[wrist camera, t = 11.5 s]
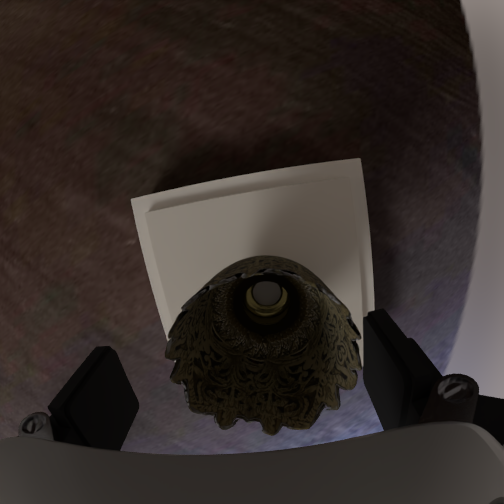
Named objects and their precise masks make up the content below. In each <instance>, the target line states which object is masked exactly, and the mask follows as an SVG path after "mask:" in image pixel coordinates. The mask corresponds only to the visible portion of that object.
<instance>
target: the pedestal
mask: <svg viewBox="0 0 504 504" xmlns="http://www.w3.org/2000/svg"><path fill="white" fill-rule="evenodd" d="M131 203H132V208H133V212H134V217H135V222H136V226H137V231H138V235H139V239H140V244H141V248H142V252H143V256H144V260H145V264H146V268H147V271H148V275H149V279H150V283H151V286H152V290H153V293H154V297H155V301H156V304H157V307H158V311H159V314H160V317H161V321H162V324H163V327H164V330H165V334H166V337H167V340H168V341H169V340H170V339H171V338H170V339H168V333H169V331H170V329H171V327H172V325H173V324H174V322H175V320H176V318H177V316H178V315H179V314H180V313H181V312H182V309H181V307H182V306H183V305H184V304H185V303H186V302H187V301H188V300H189V299H190V298H191V297H192V296H193V295H195V294H196V293H197V292H198V291H199V290H200V289H201V288H202V287H203V286H204V285H205V284H206V283H207V282H208V281H210V280H211V279H212V278H213V277H214V276H215V275H216V274H217V273H219V272H220V271H221V270H223V269H224V268H226V267H227V266H229V265H231V264H233V263H235V262H237V261H239V260H242V259H245V258H248V257H253V256H261V255H271V256H279V257H284V258H287V259H290V260H293V261H295V262H297V263H299V264H301V265H303V266H304V267H306V268H307V269H309V270H310V271H312V272H313V273H314V274H315V275H316V276H317V277H319V278H320V279H321V280H322V281H323V282H324V284H325V285H326V286H327V287H328V288H329V289H330V290H331V291H332V292H333V293H334V295H335V296H336V297H337V298H338V299H339V300H340V301H341V302H342V303H343V304H344V305H345V306H346V307H347V308H348V309H349V311H350V313H351V318H352V320H353V322H354V324H355V325H356V326H357V328H358V330H359V332H360V334H361V340H356V342H357V344H358V345H359V354H360V358H361V363H362V366H363V317H365V316H367V314H368V312H369V311H374V310H375V308H374V283H373V265H372V251H371V239H370V229H369V219H368V210H367V202H366V194H365V186H364V179H363V172H362V166H361V159H360V158H356V159H347V160H338V161H330V162H323V163H315V164H308V165H301V166H295V167H288V168H282V169H275V170H269V171H263V172H257V173H252V174H246V175H240V176H235V177H230V178H224V179H219V180H214V181H209V182H204V183H199V184H195V185H190V186H185V187H181V188H176V189H172V190H167V191H163V192H159V193H154V194H150V195H146V196H142V197H138V198H134V199H131ZM280 295H281V290H280V287H279V286H278V284H277V283H274V282H267V281H266V282H259V283H257V284H256V285H255V287H254V289H253V296H254V298H255V300H256V301H257V302H258V303H260V304H262V305H272V304H274V303H276V302H277V301H278V300H279V298H280ZM175 362H176V361H175Z"/></svg>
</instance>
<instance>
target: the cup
mask: <svg viewBox="0 0 504 504" xmlns="http://www.w3.org/2000/svg"><path fill="white" fill-rule="evenodd" d="M266 281H267V282H274V283H277V284H278V286H279V287H280V290H281V295H280V298H279V300H278V301H277V302H276V303H274V304H272V305H262V304H260V303H258V302H257V301H256V300H255V298H254V296H253V289H254V287H255V285H256V284H257V283H259V282H266ZM181 309H182V312H181V313H180V314H179V315H178V316H177V318H176V320H175V322H174V324H173V325H172V327H171V329H170V331H169V333H168V339H170V338H171V339H170V340H169V341H168V343H167V347H166V351H165V358H166V359H169V360H173V361H176V362H175V366H174V368H173V371H172V373H171V376H170V380H171V382H172V383H176V384H178V385H179V384H180V385H181V384H183V386H184V394H185V399H186V402H187V405H188V407H189V409H190V410H191V411H192V412H194V413H197V414H200V415H212V416H214V420H215V423H216V424H217V425H218V426H219V427H220V428H221V429H223V430H227V429H230V428H231V427H233V425H235V424H236V422H237V421H238V420H239V419H237V420H235V419H236V418H240V419H243V420H245V421H246V422H247V423H251V422H253V421H257V422H260V423H261V425H262V427H263V430H262V432H263V433H265V434H268V435H271V436H273V435H276V434H277V433H278V432H279V431H280V430H281V428H282V426H284V427H287V428H289V429H292V430H302V429H309V428H310V427H311V426H312V425H313V424H314V423H315V422H316V420H317V419H318V417H319V416H320V413H321V412H322V410H323V409H324V408H326V407H325V405H326V406H327V407H329V408H330V409H326V410H338V409H339V407H340V395H339V388H341V389H343V390H352V389H353V388H354V387H355V385H356V384H357V378H358V375H357V372H356V370H357V371H358V370H359V371H360V370H362V363H361V358H360V354H359V345H358V344H357V342H356V340H361V334H360V332H359V330H358V328H357V326H356V325H355V324H354V322H353V320H352V318H351V313H350V311H349V309H348V308H347V307H346V306H345V305H344V304H343V303H342V302H341V301H340V300H339V299H338V298H337V297H336V296H335V295H334V293H333V292H332V291H331V290H330V289H329V288H328V287H327V286H326V285H325V284H324V282H323V281H322V280H321V279H320V278H319V277H317V276H316V275H315V274H314V273H313V272H312V271H310V270H309V269H307V268H306V267H304V266H303V265H301V264H299V263H297V262H295V261H293V260H290V259H287V258H284V257H279V256H271V255H261V256H253V257H248V258H245V259H242V260H239V261H237V262H235V263H233V264H231V265H229V266H227V267H226V268H224V269H223V270H221V271H220V272H219V273H217V274H216V275H215V276H214V277H213V278H212V279H211V280H210V281H208V282H207V283H206V284H205V285H204V286H203V287H202V288H201V289H200V290H199V291H198V292H197V293H196V294H195V295H193V296H192V297H191V298H190V299H189V300H188V301H187V302H186V303H185V304H184V305H183V306H182V307H181ZM181 381H182V382H181ZM234 420H235V421H234ZM233 421H234V422H233ZM232 424H233V425H232Z"/></svg>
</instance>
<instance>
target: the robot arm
mask: <svg viewBox="0 0 504 504" xmlns="http://www.w3.org/2000/svg"><path fill="white" fill-rule="evenodd" d="M363 380H364V384H365V387H366V389H367V391H368V394H369V396H370V398H371V401H372V403H373V405H374V408H375V410H376V412H377V415H378V417H379V420H380V422H381V424H382V427H383V429H384V431H382V432H377V433H373V434H368V435H364V436H359V437H354V438H349V439H345V440H340V441H335V442H329V443H324V444H318V445H312V446H305V447H299V448H291V449H284V450H275V451H265V452H254V453H239V454H217V455H173V454H151V453H137V452H126V451H120V449H121V447H122V445H123V442H124V440H125V438H126V436H127V434H128V431H129V429H130V427H131V425H132V423H133V420H134V418H135V416H136V414H137V412H138V409H139V402H138V399H137V397H136V395H135V393H134V391H133V389H132V387H131V385H130V382H129V380H128V378H127V376H126V374H125V371H124V369H123V367H122V364H121V362H120V360H119V357H118V355H117V353H116V351H115V350H113V349H112V348H111V347H110V346H101V347H96V348H95V349H94V350H93V351H92V352H91V353H90V355H89V356H88V357H87V358H86V360H85V361H84V362H83V363H82V364H81V366H80V367H79V368H78V369H77V370H76V372H75V373H74V374H73V375H72V377H71V378H70V379H69V380H68V382H67V383H66V384H65V385H64V387H63V388H62V389H61V390H60V392H59V393H58V394H57V396H56V397H55V398H54V399H53V401H52V402H51V403H50V405H49V406H48V409H49V411H50V412H51V414H52V415H51V416H50V417H49V416H48V415H47V414H46V413H44V412H36V413H32V414H30V415H28V416H27V417H25V418H24V419H23V420H22V421H21V423H20V425H19V429H18V430H19V436H17V437H10V438H5V439H1V440H0V504H504V399H500V398H495V397H489V396H483V395H479V387H478V384H477V382H476V381H475V380H474V379H473V378H471V377H469V376H467V375H463V374H449V375H446V376H442V375H441V374H440V372H439V371H438V370H437V368H436V367H435V366H434V364H433V363H432V362H431V361H430V359H429V358H428V357H427V355H426V354H425V353H424V352H423V350H422V349H421V348H420V347H419V345H418V344H417V343H416V342H415V340H414V339H412V338H407V337H406V336H405V335H404V333H403V332H402V331H401V329H400V328H399V327H398V326H397V324H396V323H395V322H394V321H393V319H392V318H391V317H390V316H389V315H388V313H387V312H386V311H385V310H384V309H379V310H374V311H369V312H368V314H367V316H365V317H363Z"/></svg>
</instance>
